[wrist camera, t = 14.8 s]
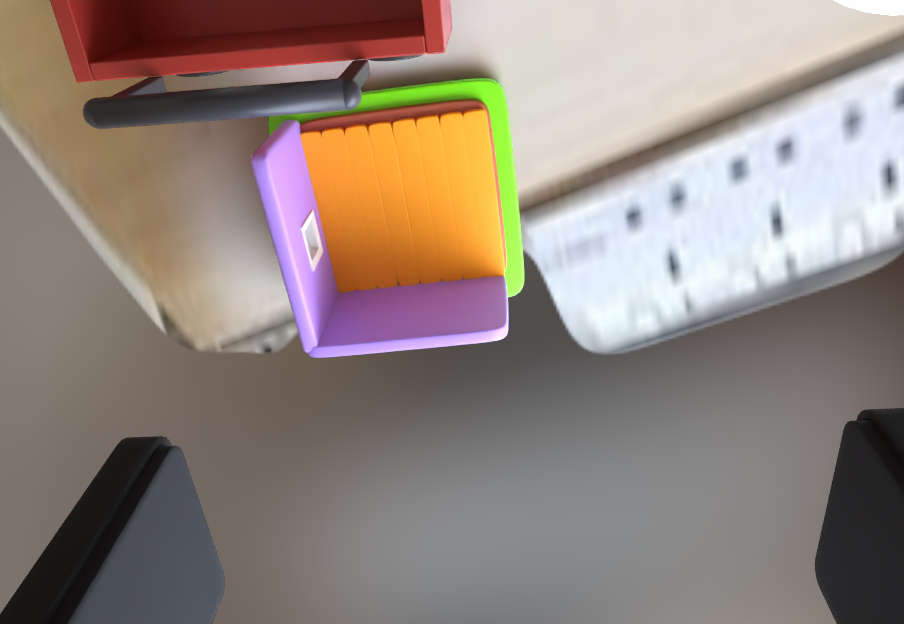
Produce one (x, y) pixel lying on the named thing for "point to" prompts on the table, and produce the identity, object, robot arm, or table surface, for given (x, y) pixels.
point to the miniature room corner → (396, 218)
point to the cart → (237, 52)
